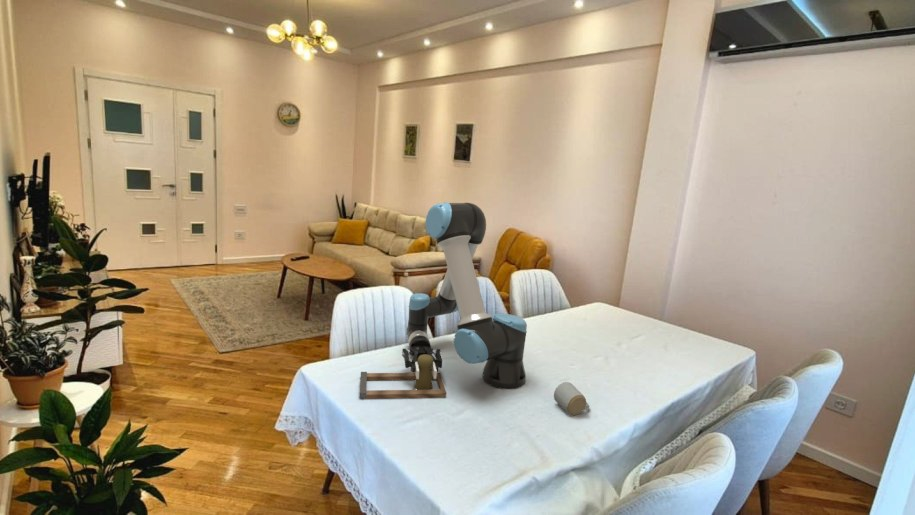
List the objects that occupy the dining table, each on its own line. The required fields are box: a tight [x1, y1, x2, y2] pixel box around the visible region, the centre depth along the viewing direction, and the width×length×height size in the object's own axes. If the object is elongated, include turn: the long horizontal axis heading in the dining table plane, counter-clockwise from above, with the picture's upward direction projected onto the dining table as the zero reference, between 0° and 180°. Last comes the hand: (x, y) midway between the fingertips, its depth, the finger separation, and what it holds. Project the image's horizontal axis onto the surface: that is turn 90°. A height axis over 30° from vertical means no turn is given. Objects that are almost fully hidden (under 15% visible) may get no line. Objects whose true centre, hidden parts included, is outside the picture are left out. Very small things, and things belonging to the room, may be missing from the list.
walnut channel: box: [365, 372, 447, 400], centre depth 148 cm, size 25×14×2 cm, turn 100°
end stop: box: [358, 371, 368, 400], centre depth 146 cm, size 2×14×2 cm, turn 10°
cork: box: [413, 354, 433, 390], centre depth 149 cm, size 6×6×11 cm
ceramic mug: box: [553, 381, 590, 416], centre depth 144 cm, size 11×8×8 cm
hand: (426, 374), depth 143 cm, fingers closed on cork, 5 cm apart
